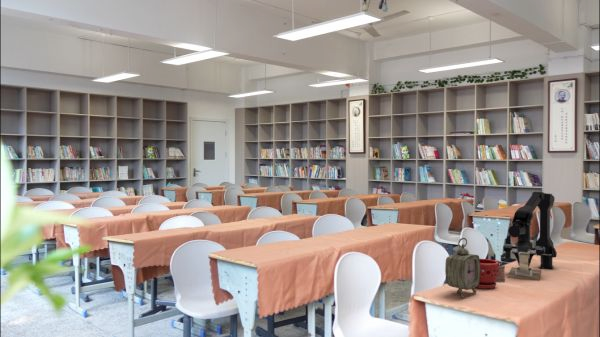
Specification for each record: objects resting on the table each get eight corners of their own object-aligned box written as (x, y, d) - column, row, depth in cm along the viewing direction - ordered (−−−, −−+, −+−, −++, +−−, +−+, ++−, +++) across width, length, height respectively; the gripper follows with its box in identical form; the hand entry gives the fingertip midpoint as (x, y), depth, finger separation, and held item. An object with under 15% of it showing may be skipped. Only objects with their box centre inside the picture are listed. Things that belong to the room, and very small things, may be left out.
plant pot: (499, 291, 218) (499, 264, 217) (468, 288, 222) (468, 262, 222) (498, 283, 230) (498, 258, 230) (468, 281, 234) (468, 256, 234)
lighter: (503, 280, 236) (503, 259, 236) (506, 282, 232) (505, 261, 232) (486, 280, 237) (486, 259, 236) (488, 281, 233) (488, 261, 233)
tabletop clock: (463, 300, 205) (462, 241, 204) (444, 295, 212) (443, 238, 211) (480, 293, 215) (480, 236, 214) (461, 289, 221) (461, 234, 221)
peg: (520, 270, 246) (520, 253, 245) (528, 271, 244) (528, 253, 244) (519, 272, 242) (519, 254, 242) (528, 273, 240) (528, 255, 240)
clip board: (511, 269, 258) (511, 262, 258) (541, 271, 251) (541, 264, 251) (507, 277, 240) (507, 270, 240) (538, 280, 234) (538, 273, 233)
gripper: (501, 236, 240) (501, 267, 241) (543, 238, 231) (544, 271, 231) (504, 232, 250) (504, 263, 250) (545, 235, 241) (545, 266, 241)
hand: (524, 265), depth 243 cm, fingers closed on peg, 4 cm apart
